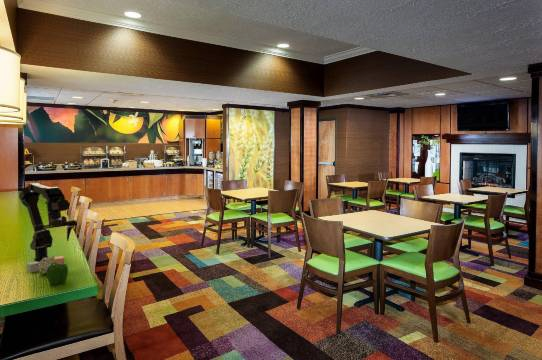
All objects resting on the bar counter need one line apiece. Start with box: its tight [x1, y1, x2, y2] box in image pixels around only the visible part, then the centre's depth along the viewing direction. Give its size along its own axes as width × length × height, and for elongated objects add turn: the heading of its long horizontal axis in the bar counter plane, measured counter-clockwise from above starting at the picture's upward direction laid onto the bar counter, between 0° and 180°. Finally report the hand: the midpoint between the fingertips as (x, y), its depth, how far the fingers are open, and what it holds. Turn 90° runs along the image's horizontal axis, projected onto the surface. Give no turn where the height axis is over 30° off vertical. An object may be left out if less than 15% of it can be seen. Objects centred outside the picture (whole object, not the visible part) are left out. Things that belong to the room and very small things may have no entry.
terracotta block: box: [51, 255, 65, 265], centre depth 195 cm, size 5×5×4 cm
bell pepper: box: [46, 262, 69, 286], centre depth 169 cm, size 8×8×10 cm
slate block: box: [26, 261, 41, 273], centre depth 185 cm, size 4×4×4 cm
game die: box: [36, 256, 55, 275], centre depth 181 cm, size 9×8×10 cm
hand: (57, 242), depth 193 cm, fingers open, 9 cm apart
